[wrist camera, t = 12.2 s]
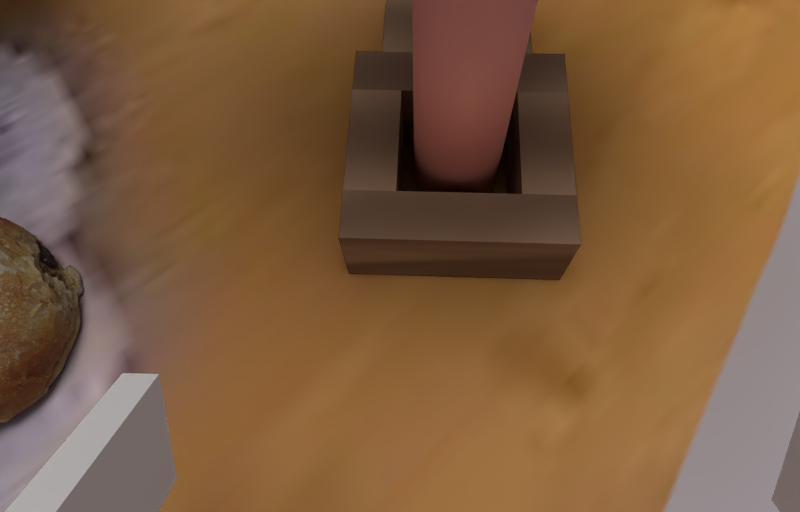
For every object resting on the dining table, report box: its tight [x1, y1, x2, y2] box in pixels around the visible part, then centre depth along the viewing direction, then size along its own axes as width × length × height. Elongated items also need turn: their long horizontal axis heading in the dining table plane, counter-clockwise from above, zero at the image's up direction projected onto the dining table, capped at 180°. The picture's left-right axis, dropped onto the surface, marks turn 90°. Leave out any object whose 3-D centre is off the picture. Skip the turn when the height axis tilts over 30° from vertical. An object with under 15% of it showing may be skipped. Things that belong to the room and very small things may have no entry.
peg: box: [412, 0, 538, 193], centre depth 23 cm, size 4×4×14 cm
